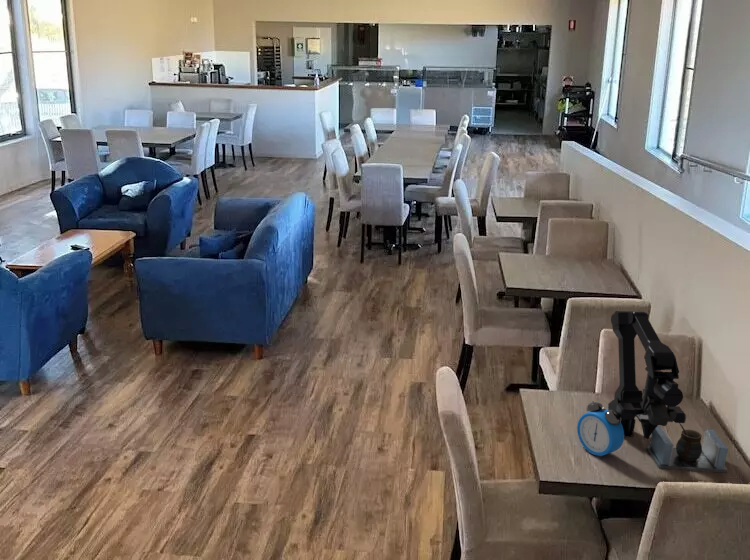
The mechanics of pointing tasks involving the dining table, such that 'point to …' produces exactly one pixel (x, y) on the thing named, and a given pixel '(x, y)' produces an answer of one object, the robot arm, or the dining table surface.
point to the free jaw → (661, 445)
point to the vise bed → (708, 460)
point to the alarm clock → (600, 430)
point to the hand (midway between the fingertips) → (646, 438)
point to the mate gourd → (689, 445)
